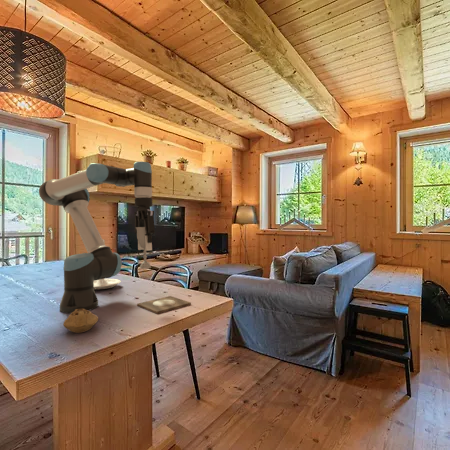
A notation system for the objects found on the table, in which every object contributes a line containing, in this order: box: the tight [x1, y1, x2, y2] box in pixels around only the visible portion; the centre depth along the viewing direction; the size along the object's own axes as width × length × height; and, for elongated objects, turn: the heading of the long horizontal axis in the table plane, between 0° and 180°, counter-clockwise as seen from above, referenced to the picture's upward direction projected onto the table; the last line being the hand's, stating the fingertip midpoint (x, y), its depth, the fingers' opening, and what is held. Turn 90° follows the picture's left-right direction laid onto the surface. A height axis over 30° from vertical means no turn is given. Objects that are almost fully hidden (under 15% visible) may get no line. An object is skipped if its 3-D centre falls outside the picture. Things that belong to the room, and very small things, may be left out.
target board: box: [136, 295, 192, 315], centre depth 131 cm, size 18×16×1 cm
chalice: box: [136, 226, 152, 270], centre depth 127 cm, size 7×7×18 cm
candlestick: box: [94, 239, 122, 291], centre depth 162 cm, size 21×25×28 cm
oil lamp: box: [63, 309, 99, 334], centre depth 103 cm, size 11×15×8 cm
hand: (145, 249), depth 127 cm, fingers closed on chalice, 6 cm apart
